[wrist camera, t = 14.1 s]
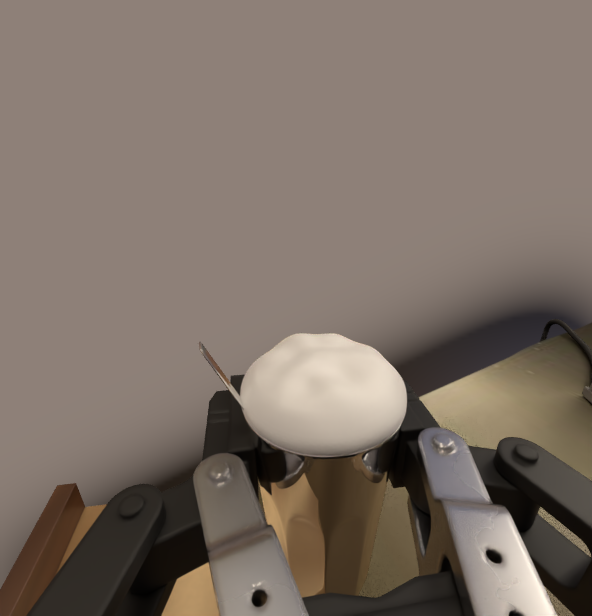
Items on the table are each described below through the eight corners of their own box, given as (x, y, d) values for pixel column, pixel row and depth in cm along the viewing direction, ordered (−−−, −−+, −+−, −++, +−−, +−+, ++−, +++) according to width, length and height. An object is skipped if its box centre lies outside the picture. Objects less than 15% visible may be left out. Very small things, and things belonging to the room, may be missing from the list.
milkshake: (229, 535, 14) (194, 308, 10) (350, 496, 16) (360, 285, 12) (250, 682, 10) (206, 405, 6) (410, 613, 11) (458, 350, 8)
